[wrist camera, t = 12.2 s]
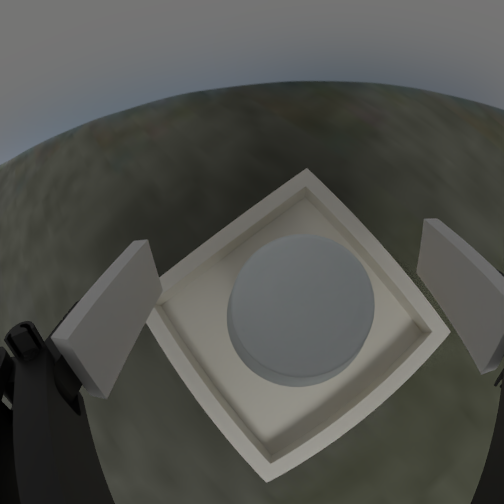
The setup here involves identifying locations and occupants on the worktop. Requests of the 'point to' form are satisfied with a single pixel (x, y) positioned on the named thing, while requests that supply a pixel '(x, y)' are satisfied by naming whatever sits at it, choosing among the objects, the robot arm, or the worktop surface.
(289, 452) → the tray
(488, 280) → the robot arm
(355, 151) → the worktop surface
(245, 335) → the supplement bottle
